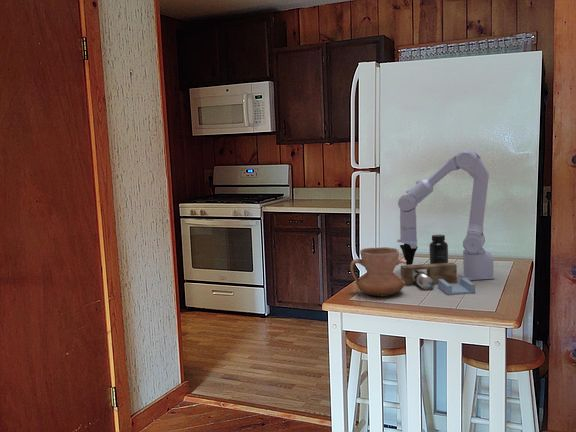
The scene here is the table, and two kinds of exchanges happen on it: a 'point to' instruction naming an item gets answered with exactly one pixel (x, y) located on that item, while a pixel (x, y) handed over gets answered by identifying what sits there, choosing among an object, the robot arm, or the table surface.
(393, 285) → the ceramic jug
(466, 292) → the cradle
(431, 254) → the supplement bottle
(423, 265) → the beam
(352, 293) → the table surface
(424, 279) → the axle
